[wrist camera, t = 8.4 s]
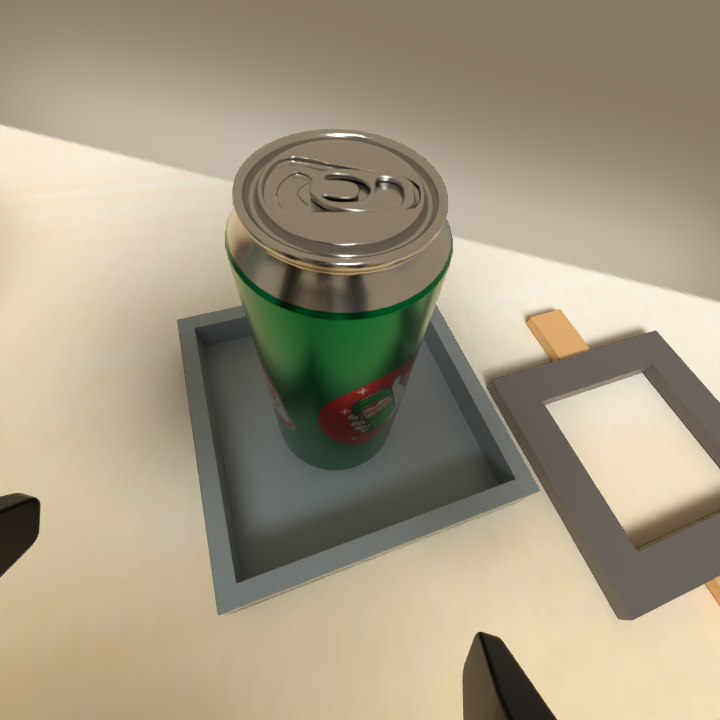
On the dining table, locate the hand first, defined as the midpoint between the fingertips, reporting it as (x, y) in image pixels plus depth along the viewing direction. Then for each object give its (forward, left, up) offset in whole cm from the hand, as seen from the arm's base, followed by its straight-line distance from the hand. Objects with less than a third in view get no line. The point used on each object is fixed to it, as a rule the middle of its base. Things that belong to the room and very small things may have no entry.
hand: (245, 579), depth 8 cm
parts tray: (+4, +6, -9) cm, 11 cm away
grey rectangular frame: (+17, 0, -9) cm, 19 cm away
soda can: (+4, +6, -8) cm, 11 cm away
